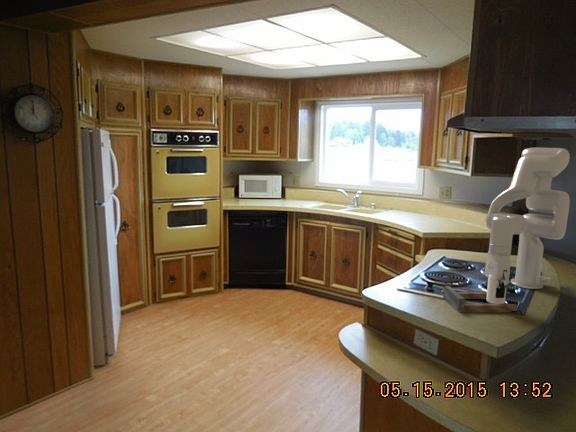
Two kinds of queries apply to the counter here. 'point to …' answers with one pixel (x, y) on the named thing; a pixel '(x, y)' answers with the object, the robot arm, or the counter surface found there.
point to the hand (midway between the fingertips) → (495, 294)
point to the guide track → (458, 303)
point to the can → (494, 291)
